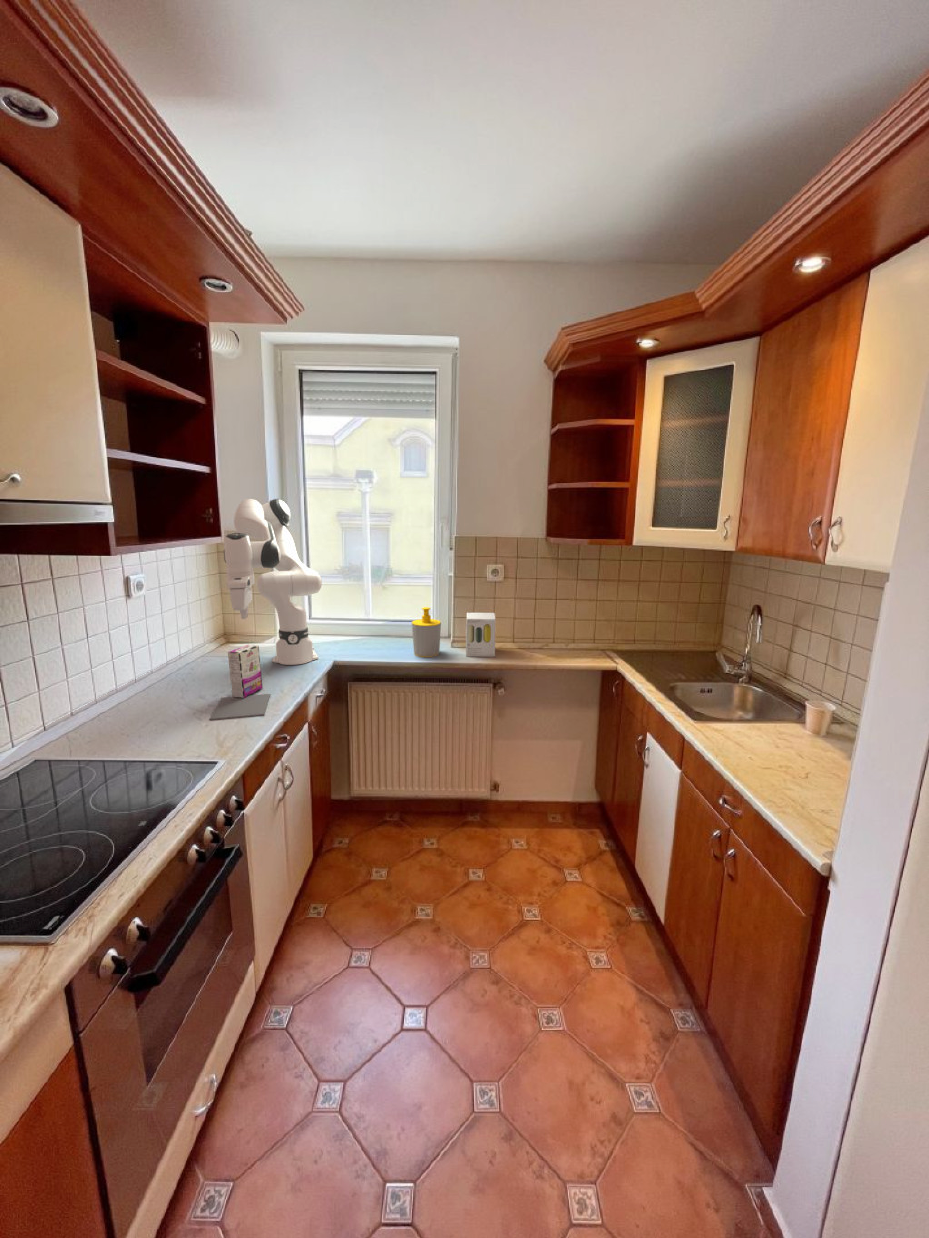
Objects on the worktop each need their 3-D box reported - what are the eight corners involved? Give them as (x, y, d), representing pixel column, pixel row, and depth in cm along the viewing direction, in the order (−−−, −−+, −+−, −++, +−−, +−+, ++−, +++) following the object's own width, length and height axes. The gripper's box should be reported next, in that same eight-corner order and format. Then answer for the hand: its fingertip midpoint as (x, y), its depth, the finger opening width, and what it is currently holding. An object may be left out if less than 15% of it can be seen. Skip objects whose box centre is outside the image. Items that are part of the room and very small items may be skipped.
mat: (221, 699, 174) (221, 697, 174) (270, 694, 178) (270, 693, 178) (209, 720, 157) (209, 718, 157) (264, 715, 161) (264, 713, 161)
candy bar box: (250, 687, 184) (247, 644, 182) (263, 688, 183) (259, 644, 181) (231, 697, 174) (226, 651, 171) (244, 698, 173) (240, 652, 170)
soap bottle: (441, 649, 235) (440, 604, 230) (440, 657, 222) (440, 610, 217) (413, 649, 235) (412, 605, 230) (411, 657, 222) (410, 610, 217)
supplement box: (465, 656, 224) (465, 618, 220) (466, 648, 237) (466, 612, 233) (495, 657, 224) (496, 618, 220) (494, 648, 237) (495, 612, 233)
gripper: (236, 576, 186) (240, 612, 189) (225, 584, 167) (229, 624, 170) (254, 575, 188) (257, 611, 191) (246, 583, 169) (249, 623, 172)
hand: (244, 618), depth 180 cm, fingers closed
